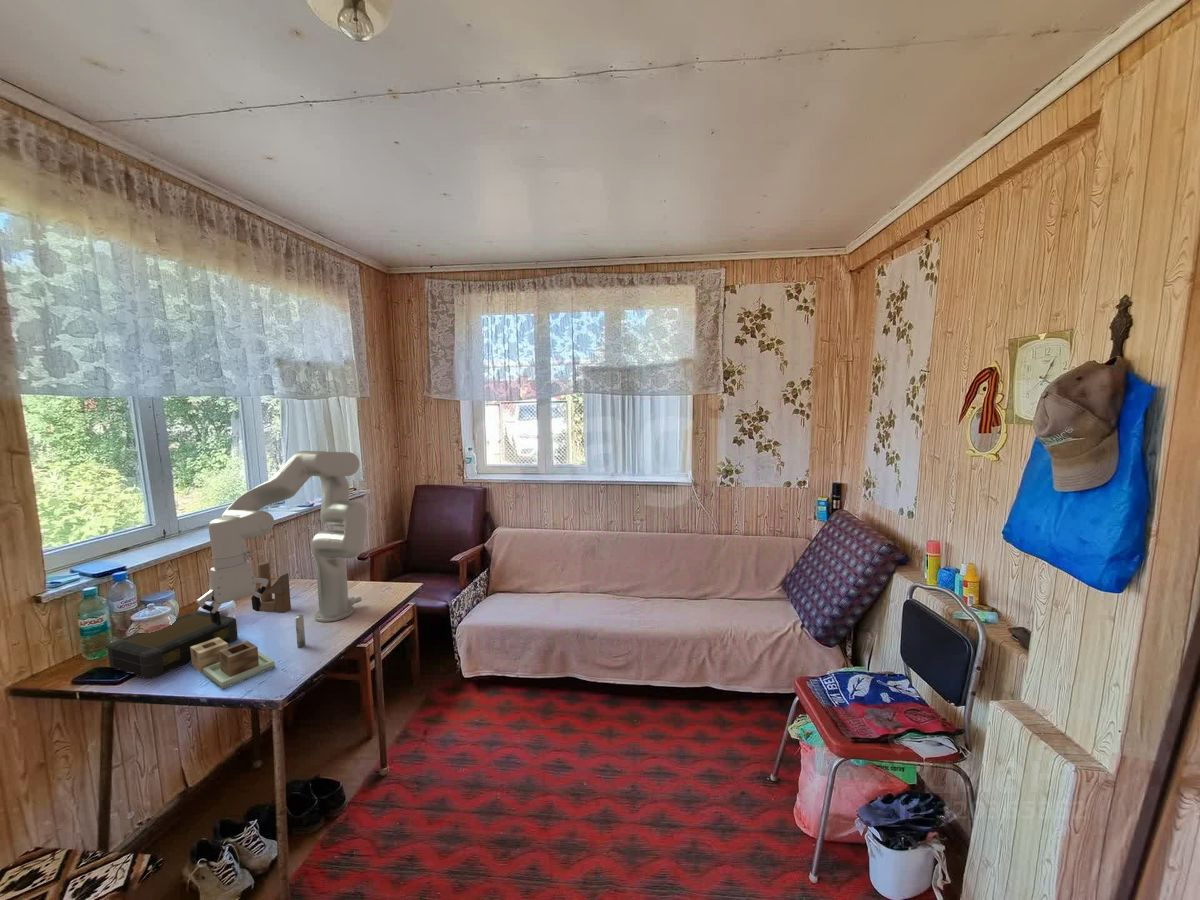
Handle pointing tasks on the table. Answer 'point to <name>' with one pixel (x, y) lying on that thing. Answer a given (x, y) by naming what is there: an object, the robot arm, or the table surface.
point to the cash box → (168, 644)
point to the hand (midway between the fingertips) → (237, 616)
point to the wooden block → (274, 591)
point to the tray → (224, 680)
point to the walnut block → (238, 658)
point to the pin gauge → (300, 631)
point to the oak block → (207, 653)
